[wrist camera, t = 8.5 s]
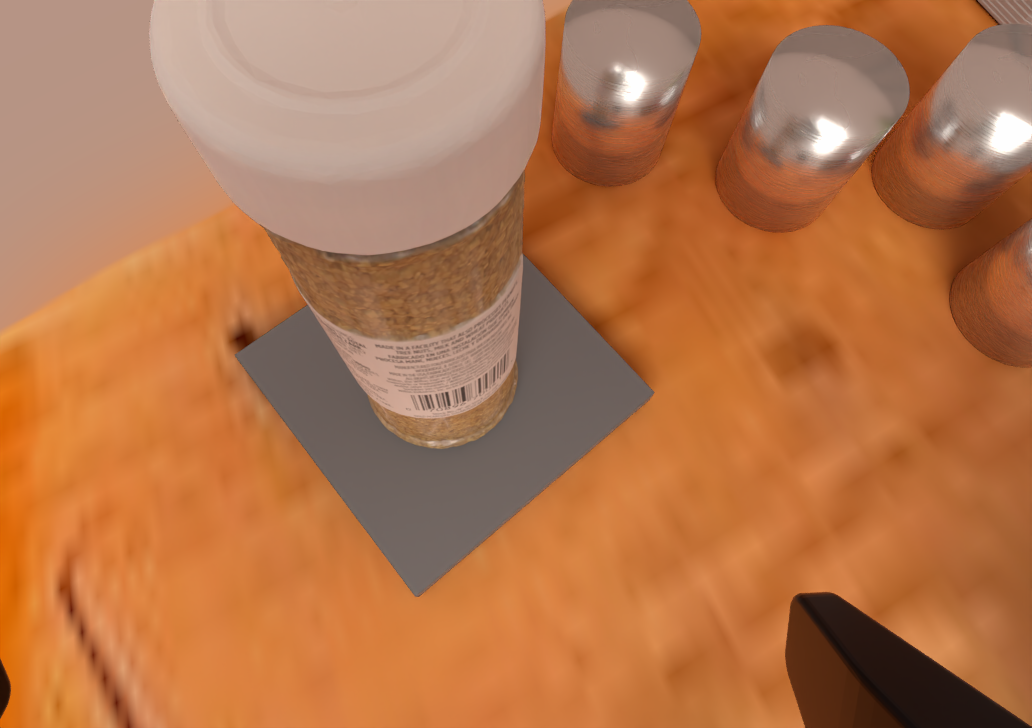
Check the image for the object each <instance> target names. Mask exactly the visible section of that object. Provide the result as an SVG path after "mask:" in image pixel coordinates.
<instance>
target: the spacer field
mask: <svg viewBox="0 0 1032 728" xmlns="http://www.w3.org/2000/svg"><path fill="white" fill-rule="evenodd" d="M700 41H701V26H700V22H699V19H698V17H697V14H696V12H695V11H694V9H693V7H692V6H691V5H690V4H689V2H688V1H687V0H573V1H572V2H571V4H570V6H569V7H568V10H567V13H566V17H565V24H564V33H563V42H562V50H561V59H560V68H559V76H558V85H557V94H556V102H555V111H554V120H553V128H552V146H553V149H554V152H555V155H556V157H557V159H558V160H559V162H560V163H561V164H562V165H563V167H564V168H565V169H566V170H567V171H569V172H570V173H571V174H572V175H574V176H575V177H577V178H579V179H581V180H583V181H585V182H588V183H591V184H595V185H600V186H621V185H626V184H629V183H632V182H635V181H637V180H639V179H641V178H642V177H644V176H645V175H646V174H647V173H649V172H650V171H651V170H652V168H653V167H654V166H655V164H656V163H657V161H658V159H659V156H660V154H661V151H662V148H663V145H664V142H665V140H666V137H667V134H668V131H669V129H670V126H671V123H672V120H673V117H674V115H675V112H676V109H677V106H678V104H679V101H680V98H681V95H682V92H683V90H684V87H685V84H686V81H687V79H688V76H689V73H690V70H691V67H692V65H693V62H694V59H695V56H696V53H697V51H698V48H699V45H700ZM909 95H910V88H909V82H908V77H907V75H906V72H905V70H904V68H903V66H902V65H901V63H900V62H899V60H898V59H897V58H896V56H895V55H894V54H893V53H892V52H891V51H890V50H889V49H888V48H886V47H885V46H884V45H883V44H881V43H880V42H879V41H877V40H876V39H874V38H872V37H870V36H868V35H866V34H864V33H862V32H859V31H856V30H853V29H850V28H845V27H840V26H830V25H822V26H813V27H808V28H804V29H801V30H799V31H796V32H794V33H792V34H791V35H789V36H787V37H786V38H785V39H784V40H783V41H781V43H780V44H779V45H778V46H777V48H776V49H775V51H774V52H773V54H772V56H771V58H770V60H769V62H768V65H767V67H766V69H765V71H764V73H763V75H762V77H761V79H760V81H759V83H758V85H757V87H756V89H755V91H754V93H753V95H752V97H751V99H750V101H749V103H748V105H747V107H746V109H745V111H744V113H743V115H742V117H741V119H740V121H739V123H738V125H737V127H736V129H735V131H734V133H733V135H732V137H731V139H730V141H729V143H728V145H727V147H726V149H725V151H724V153H723V155H722V157H721V159H720V161H719V163H718V166H717V170H716V186H717V190H718V193H719V195H720V198H721V199H722V201H723V203H724V204H725V206H726V207H727V208H728V209H729V210H730V212H731V213H732V214H733V215H735V216H736V217H737V218H738V219H740V220H741V221H743V222H744V223H746V224H748V225H750V226H752V227H755V228H757V229H760V230H764V231H769V232H781V233H782V232H791V231H796V230H799V229H802V228H804V227H806V226H808V225H809V224H811V223H812V222H814V221H815V220H816V219H817V218H818V217H819V216H820V214H821V213H822V212H823V211H824V210H825V208H826V207H827V206H828V205H829V203H830V202H831V201H832V200H833V199H834V197H835V196H836V195H837V194H838V193H839V191H840V190H841V189H842V188H843V186H844V185H845V184H846V183H847V182H848V180H849V179H850V178H851V177H852V176H853V174H854V173H855V172H856V171H857V169H858V168H859V167H860V166H861V165H862V163H863V162H864V161H865V160H866V159H867V157H868V156H869V155H870V154H871V152H872V151H873V150H874V149H875V148H876V146H877V145H878V144H879V143H880V142H881V140H882V139H883V138H884V137H885V135H886V134H887V133H888V132H889V131H890V129H891V128H892V127H893V126H894V124H895V123H896V122H897V121H898V120H899V118H900V117H901V116H902V114H903V113H904V111H905V109H906V107H907V105H908V101H909ZM1031 170H1032V26H1031V25H1024V24H1002V25H997V26H993V27H990V28H988V29H985V30H983V31H981V32H980V33H979V34H977V35H976V36H975V37H974V38H973V39H972V40H971V41H970V42H969V43H968V44H967V46H966V47H965V48H964V49H963V50H962V52H961V53H960V54H959V55H958V56H957V58H956V59H955V60H954V61H953V62H952V64H951V65H950V66H949V67H948V68H947V70H946V71H945V72H944V73H943V74H942V76H941V77H940V78H939V79H938V80H937V82H936V83H935V84H934V85H933V86H932V88H931V89H930V90H929V91H928V92H927V94H926V95H925V96H924V97H923V98H922V99H921V101H920V102H919V103H918V104H917V105H916V107H915V108H914V109H913V110H912V111H911V113H910V114H909V115H908V116H907V117H906V119H905V120H904V121H903V122H902V123H901V125H900V126H899V127H898V128H897V129H896V131H895V132H894V133H893V134H892V135H891V137H890V138H889V139H888V140H887V141H886V143H885V144H884V145H883V146H882V147H881V149H880V150H879V151H878V153H877V154H876V156H875V158H874V161H873V165H872V178H873V183H874V185H875V188H876V190H877V192H878V194H879V196H880V197H881V199H882V200H883V201H884V203H885V204H886V205H887V206H888V207H889V208H890V209H891V210H892V211H893V212H895V213H896V214H897V215H899V216H900V217H902V218H903V219H905V220H907V221H909V222H911V223H913V224H916V225H919V226H922V227H926V228H932V229H950V228H955V227H958V226H961V225H963V224H965V223H967V222H969V221H970V220H971V219H972V218H974V217H975V216H976V215H977V214H979V213H980V212H981V211H982V210H984V209H985V208H986V207H987V206H988V205H990V204H991V203H992V202H993V201H995V200H996V199H997V198H998V197H999V196H1001V195H1002V194H1003V193H1004V192H1006V191H1007V190H1008V189H1009V188H1010V187H1012V186H1013V185H1014V184H1015V183H1017V182H1018V181H1019V180H1020V179H1021V178H1023V177H1024V176H1025V175H1026V174H1028V173H1029V172H1030V171H1031ZM950 306H951V311H952V314H953V317H954V320H955V322H956V324H957V326H958V328H959V329H960V331H961V332H962V334H963V335H964V336H965V337H966V339H967V340H968V341H969V342H970V343H971V344H972V345H973V346H974V347H976V348H977V349H978V350H979V351H981V352H982V353H983V354H985V355H987V356H988V357H990V358H992V359H994V360H996V361H998V362H1001V363H1004V364H1007V365H1011V366H1016V367H1032V219H1030V220H1029V221H1028V222H1026V223H1025V224H1023V225H1022V226H1021V227H1019V228H1018V229H1017V230H1015V231H1014V232H1012V233H1011V234H1010V235H1008V236H1007V237H1006V238H1004V239H1003V240H1001V241H1000V242H999V243H997V244H996V245H995V246H993V247H992V248H990V249H989V250H988V251H986V252H985V253H984V254H982V255H981V256H979V257H978V258H977V259H975V260H974V261H973V262H971V263H970V264H968V265H967V266H966V267H965V268H963V269H962V270H961V271H960V272H959V273H958V274H957V276H956V278H955V279H954V281H953V284H952V286H951V291H950Z"/></svg>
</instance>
